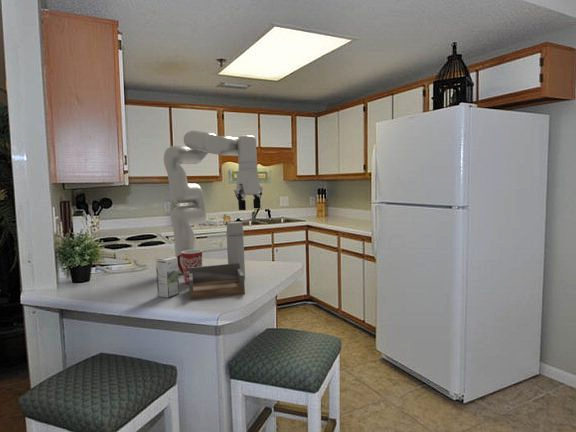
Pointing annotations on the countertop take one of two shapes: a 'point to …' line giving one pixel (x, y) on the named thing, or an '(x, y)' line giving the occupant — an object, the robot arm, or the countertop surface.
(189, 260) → the mug
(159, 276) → the syrup box
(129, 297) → the countertop surface
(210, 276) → the shelf
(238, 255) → the water bottle
